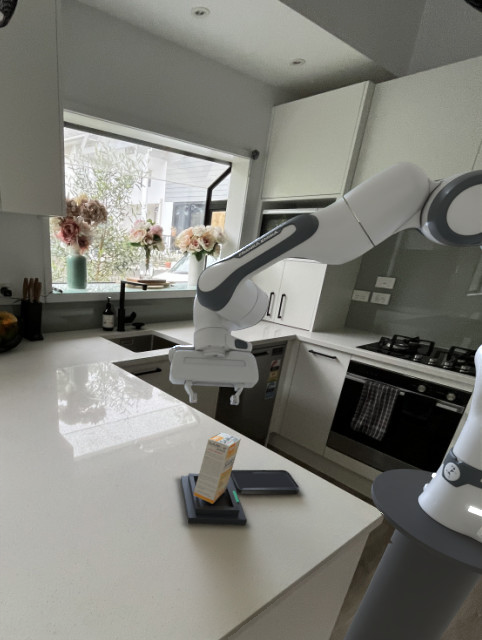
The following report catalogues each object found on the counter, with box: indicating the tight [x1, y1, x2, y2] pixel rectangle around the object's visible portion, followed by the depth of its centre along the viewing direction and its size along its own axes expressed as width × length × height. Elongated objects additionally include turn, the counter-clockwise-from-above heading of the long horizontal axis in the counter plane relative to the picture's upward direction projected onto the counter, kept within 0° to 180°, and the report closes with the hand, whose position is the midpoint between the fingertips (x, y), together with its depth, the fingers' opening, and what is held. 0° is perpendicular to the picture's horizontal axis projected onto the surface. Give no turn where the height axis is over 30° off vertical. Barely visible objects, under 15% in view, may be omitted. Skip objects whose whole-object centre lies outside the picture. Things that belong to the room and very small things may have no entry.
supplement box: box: [194, 431, 242, 504], centre depth 80 cm, size 8×5×13 cm, turn 148°
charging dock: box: [180, 472, 248, 526], centre depth 83 cm, size 12×14×3 cm
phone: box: [230, 469, 300, 495], centre depth 90 cm, size 8×1×15 cm
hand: (214, 402), depth 84 cm, fingers open, 8 cm apart
